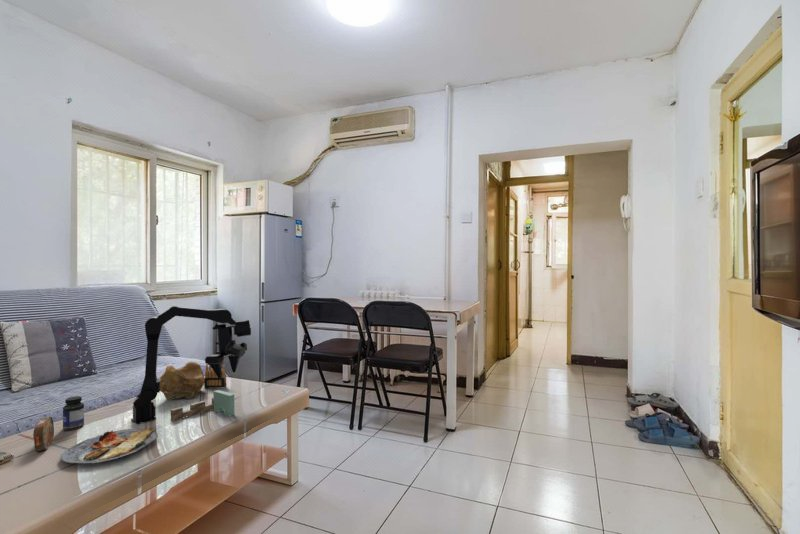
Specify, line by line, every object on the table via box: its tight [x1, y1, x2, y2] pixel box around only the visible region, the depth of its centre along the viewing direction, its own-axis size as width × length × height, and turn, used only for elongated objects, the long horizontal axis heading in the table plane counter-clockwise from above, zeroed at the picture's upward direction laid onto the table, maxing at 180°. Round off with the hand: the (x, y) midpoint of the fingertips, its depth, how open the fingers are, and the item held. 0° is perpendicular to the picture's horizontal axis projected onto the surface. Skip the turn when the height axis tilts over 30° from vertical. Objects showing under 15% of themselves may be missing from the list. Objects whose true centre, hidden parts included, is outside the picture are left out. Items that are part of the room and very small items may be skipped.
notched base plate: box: [170, 397, 214, 422], centre depth 160 cm, size 20×2×4 cm, turn 144°
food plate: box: [59, 427, 159, 465], centre depth 126 cm, size 25×23×4 cm
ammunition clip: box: [203, 362, 227, 388], centre depth 197 cm, size 11×2×12 cm, turn 86°
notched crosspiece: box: [213, 389, 235, 417], centre depth 159 cm, size 2×12×8 cm, turn 54°
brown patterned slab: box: [32, 416, 55, 452], centre depth 130 cm, size 15×3×8 cm, turn 32°
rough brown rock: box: [159, 361, 205, 401], centre depth 183 cm, size 23×17×15 cm
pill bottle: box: [62, 395, 85, 431], centre depth 146 cm, size 6×6×11 cm
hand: (227, 375), depth 167 cm, fingers open, 9 cm apart
